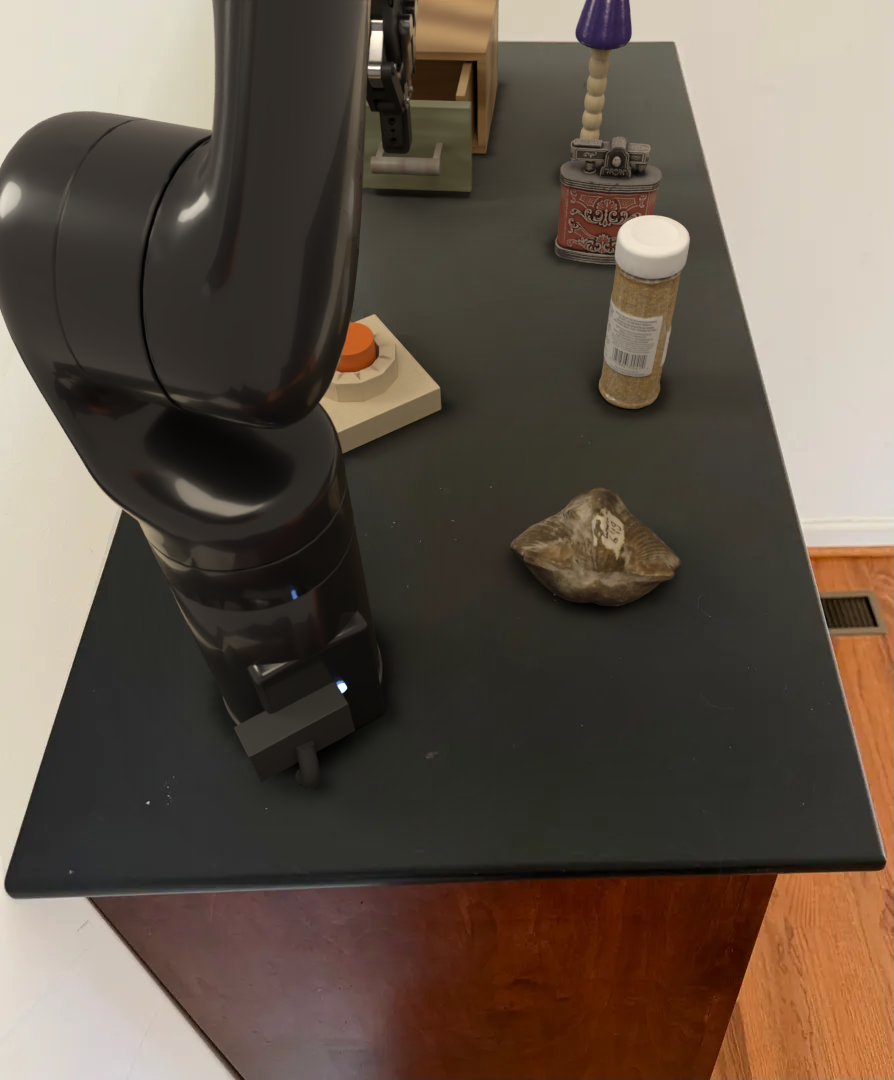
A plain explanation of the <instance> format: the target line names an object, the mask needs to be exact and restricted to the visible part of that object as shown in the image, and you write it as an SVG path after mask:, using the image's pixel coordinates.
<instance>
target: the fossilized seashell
mask: <svg viewBox="0 0 894 1080" xmlns="http://www.w3.org/2000/svg"><path fill="white" fill-rule="evenodd" d="M509 549H510V550H511V551H512V552H514V553H515V554H516V555H517V556H518V557H519V558H520V559H521V560H522V562H523V563H524V565H525V567H526V568H527V569H528V570H529V572H530V573H531V575H532V576H533V577H534V579H536V581H538V582H539V583H540V584H541V585H542V586H544V587H545V588H546V589H547V590H548V591H549V592H550V593H551V594H554V595H555V596H557V597H558V598H561V599H563V600H565V601H567V602H571V603H578V604H590V603H593V604H595V605H598V606H604V607H620V606H624V605H627V604H630V603H632V602H636V601H638V600H639V599H640V598H642V597H644V596H645V595H647V594H649V593H650V592H652V591H653V590H655V589H656V588H657V587H658V586H659V585H660V584H661V583H665V582H668V581H671V580H672V579H673V578H674V577H675V571H676V570H678V569H679V568H681V566H682V559H681V558H680V557H679V556H678V555H677V554H676V553H675V552H674V551H673V549H672V548H671V547H669V545H667V543H665V541H664V540H662V539H661V538H660V537H659V535H657V534H656V532H654V531H653V530H652V529H651V528H649V526H647V525H646V524H645V523H644V522H643V521H641V520H640V519H639V518H638V517H637V516H636V515H633V514H632V512H630V511H629V509H628V508H627V506H626V504H625V503H624V502H623V499H622V497H621V496H620V495H619V494H618V492H616V491H614V490H612V489H608V488H604V487H592V488H591V489H589V490H587V491H582V492H581V493H578V494H577V495H576V496H574V497H573V498H572V499H571V500H570V501H569V502H568V503H567V504H566V506H565V507H563V508H562V509H561V510H559V511H558V512H557V513H555V514H553V515H551V516H549V517H546V518H544V519H542V520H541V521H539V522H537V523H534V524H532V525H530V526H529V527H528V528H527V529H525V530H524V531H523V532H522V533H520V534H519V535H518V536H516V537H515V538H514V539H513V540H511V542H510V544H509Z"/></svg>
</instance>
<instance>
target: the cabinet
mask: <svg viewBox="0 0 894 1080" xmlns="http://www.w3.org/2000/svg"><path fill="white" fill-rule="evenodd" d="M499 3H500V0H418V19H417V22H416V53H417V57H416V60H459V61H476V66H477V121H476V126H475V131H474V136H473V142H472V154H487V149H488V143H489V138H490V133H491V127H492V122H493V116H494V115H493V114H494V109H495V103H496V98H497V92H498V86H499Z"/></svg>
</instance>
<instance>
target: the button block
mask: <svg viewBox="0 0 894 1080" xmlns="http://www.w3.org/2000/svg"><path fill="white" fill-rule="evenodd" d="M355 322H356V323H360V324H363V325H365V326H367V327H368V328H370V329H371V331H372V332H373V335H374V343H375V351H376V358H375V361H374V363H373V364H372V365H371V366H370V367H368V368H365V369H363V370H360V371H358V372H346V373H341V372H338V371H336V372H335V375H334V377H333V379H332V382H331V384H330V386H329V388H328V390H327V392H326V394H325V395H324V397H323V398H322V399H321V401H320V402H319V403H320V404H321V405H322V406H323V407H324V409H325V410H326V411H327V413H328V414H329V416H330V418H331V419H332V421H333V423H334V425H335V428H336V430H337V433H338V436H339V440H340V444H341V448H342V453H343V454H346V453H347V452H349V451H352V450H354V449H356V448H358V447H361V446H363V445H365V444H367V443H370V442H373V441H374V440H376V439H379V438H381V437H383V436H385V435H387V434H390V433H392V432H394V431H397V430H399V429H401V428H403V427H405V426H407V425H410V424H413V423H414V422H416V421H418V420H421V419H423V418H426V417H428V416H430V415H432V414H435V413H436V412H438V411H441V410H442V398H441V397H442V396H441V387H440V386H439V384H438V383H437V382H436V381H435V380H434V379H433V378H432V376H431V375H430V374H429V373H428V372H427V371H426V369H424V368H423V366H422V365H421V364H420V363H419V362H418V361H417V360H416V359H415V358H414V356H413V355H412V354H411V353H410V352H409V351H408V350H407V348H406V347H405V346H404V345H403V344H402V343H401V341H400V340H398V338H397V337H396V336H395V335H394V334H393V333H392V332H391V330H390V329H389V328H388V327H387V326H386V324H384V323H383V322H382V320H381V319H380V318H379V317H378V316H377V315H376V314H375V313H374V314H371V315H369V316H366V317H364V318H361V319H359V320H356V321H355Z"/></svg>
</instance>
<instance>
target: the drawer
mask: <svg viewBox="0 0 894 1080" xmlns="http://www.w3.org/2000/svg"><path fill="white" fill-rule="evenodd" d="M415 67H416V73H415V74H414V79H411V82H412V86H413V93H412V95H411V98H410V112H411V126H412V143H411V147H410V150H409V152H408V153H406V154H393V153H386V152H385V151H384V150H383V146H382V136H381V126H380V115H379V112H371V110H370V107H369V105H368V103H367V100H366V120H365V144H364V168H363V189H385V190H386V189H387V190H410V191H411V190H414V191H437V192H438V191H441V192H472V188H473V153H472V142H473V136H474V131H475V126H476V121H477V66H476V61H459V60H415Z"/></svg>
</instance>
